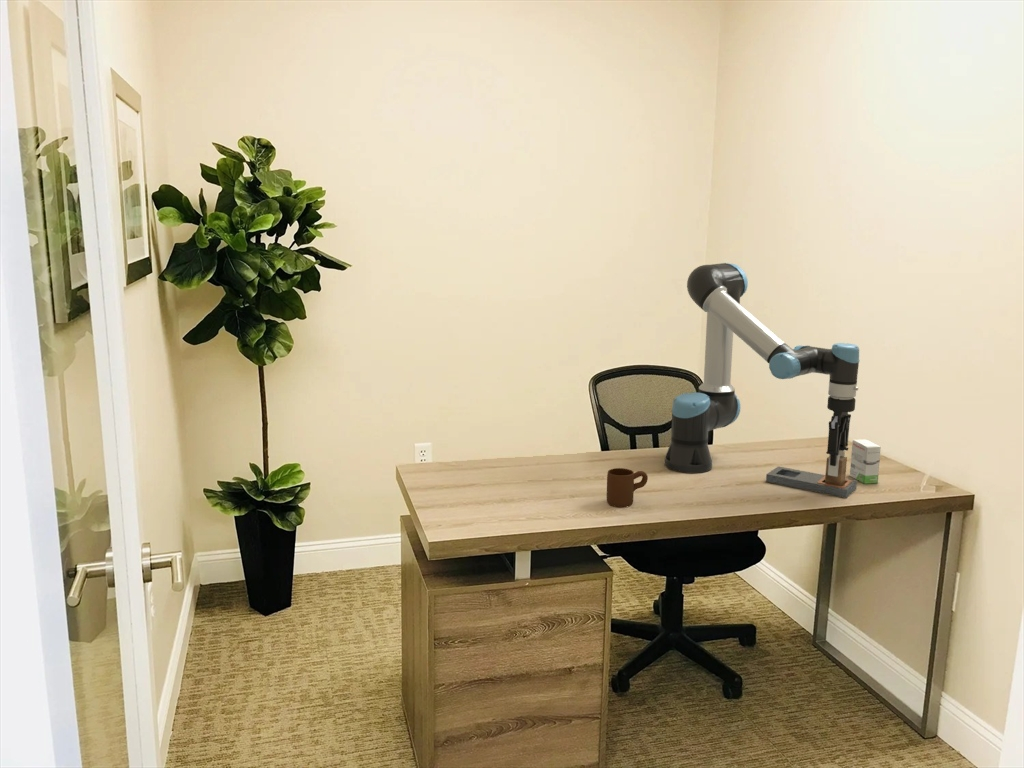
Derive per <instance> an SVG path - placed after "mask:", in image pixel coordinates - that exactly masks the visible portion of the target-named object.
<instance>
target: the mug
mask: <svg viewBox="0 0 1024 768" xmlns="http://www.w3.org/2000/svg"><path fill="white" fill-rule="evenodd" d="M640 477H642V478H641V480H640V481H639V482H635V480H636V479H638V478H640ZM648 479H649V477H648V475H647V472H645V471H643V470H638V471H636V472H634V471H633V470H631V469H629V468H623V467H615V468H611V469H609V470H607V476H606V503H607V504H608V505H609V506H611V507H614V506H616V507H615V508H628V507H630V505H631V506H632V505H633V504H634V493H635V492H636V491H637V490H638V489H641V488H643V487H645V486H646V485H647V482H648ZM627 506H628V507H627Z"/></svg>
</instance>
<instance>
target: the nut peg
mask: <svg viewBox="0 0 1024 768" xmlns="http://www.w3.org/2000/svg"><path fill="white" fill-rule="evenodd" d="M847 462H848V457H846V456H845V457H842V456H840V457H839V469H838V476H837V477H836V476H830V475H828V466H829V456H828V457H826V465H825V474H824V475H825V483H829V484H834V485H839V486H843V485H844V484H845V479H846V473H847Z"/></svg>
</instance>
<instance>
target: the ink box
mask: <svg viewBox="0 0 1024 768" xmlns="http://www.w3.org/2000/svg"><path fill="white" fill-rule="evenodd" d="M851 441H852V444H851V454H850V455H851V456H850V467H849V476H850V477H852V478H853V479H855V480H856V481H858V480H859V481H858V482H860V483H862V484H863V485H864V484H878V483H879V473H880V460H881V446H880V445H878V444H876V443H874V442H872V441H870V440H868V439H852V440H851Z"/></svg>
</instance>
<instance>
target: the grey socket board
mask: <svg viewBox="0 0 1024 768" xmlns="http://www.w3.org/2000/svg"><path fill="white" fill-rule="evenodd" d="M825 475H826V474H821V473H814V472H810V471H806V470H800V469H794V468H789V467H784V466H776V467H774V469H772V470H770V471H769V472H767V473H766V476H765V482H766V483H770V484H775V485H779V486H784V487H789V488H794V489H799V490H804V491H810V492H814V493H820V494H822V495H829V496H834V497H839V498H845V499H847V498H848V497H850V496H851V495H852V494H853V493H854V492H855V491H856V490H857V486H858V485H857V484H858V480H853V479H849V478H845V484H844V485H843V486H839V485H834V484H829V483H825ZM852 492H853V493H852Z"/></svg>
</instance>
